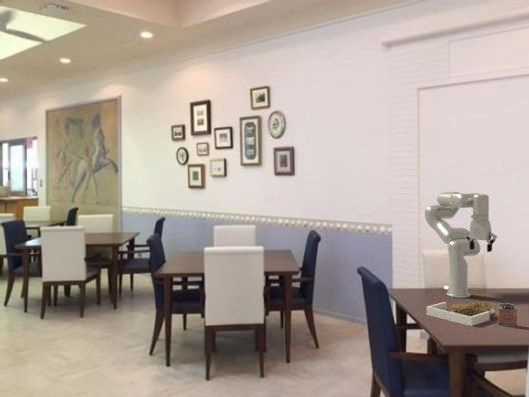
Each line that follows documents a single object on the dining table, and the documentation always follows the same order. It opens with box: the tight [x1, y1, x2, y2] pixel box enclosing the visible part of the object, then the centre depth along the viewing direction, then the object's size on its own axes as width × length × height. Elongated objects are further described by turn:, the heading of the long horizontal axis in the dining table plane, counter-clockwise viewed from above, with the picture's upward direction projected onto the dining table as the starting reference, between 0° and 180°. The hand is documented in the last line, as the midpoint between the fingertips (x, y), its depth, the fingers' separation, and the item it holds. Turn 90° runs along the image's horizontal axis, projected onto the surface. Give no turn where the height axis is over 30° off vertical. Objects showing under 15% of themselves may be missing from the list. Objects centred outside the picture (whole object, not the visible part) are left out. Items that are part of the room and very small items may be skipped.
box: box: [425, 301, 491, 327], centre depth 244 cm, size 24×15×4 cm, turn 36°
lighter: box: [497, 302, 518, 327], centre depth 230 cm, size 8×3×10 cm, turn 71°
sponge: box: [449, 302, 496, 319], centre depth 245 cm, size 13×8×20 cm
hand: (480, 250), depth 267 cm, fingers open, 9 cm apart
